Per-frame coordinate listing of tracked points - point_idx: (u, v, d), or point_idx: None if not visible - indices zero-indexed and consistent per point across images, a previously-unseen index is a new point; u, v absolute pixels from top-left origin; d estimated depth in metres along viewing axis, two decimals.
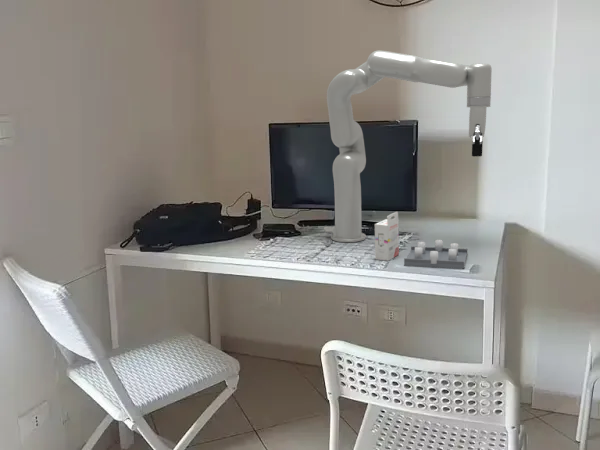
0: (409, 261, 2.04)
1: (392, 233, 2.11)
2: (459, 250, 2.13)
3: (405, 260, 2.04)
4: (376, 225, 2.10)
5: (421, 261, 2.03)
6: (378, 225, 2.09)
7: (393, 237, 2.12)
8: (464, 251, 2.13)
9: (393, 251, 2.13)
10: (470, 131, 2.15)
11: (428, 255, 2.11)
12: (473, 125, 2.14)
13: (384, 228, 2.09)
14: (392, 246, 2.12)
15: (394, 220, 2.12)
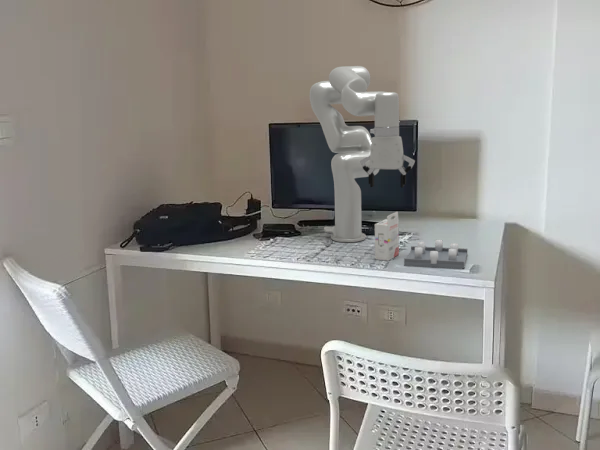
0: (409, 261, 2.04)
1: (392, 233, 2.11)
2: (459, 250, 2.13)
3: (405, 260, 2.04)
4: (376, 225, 2.10)
5: (421, 261, 2.03)
6: (378, 225, 2.10)
7: (393, 237, 2.12)
8: (464, 251, 2.13)
9: (393, 251, 2.13)
10: (401, 162, 2.05)
11: (428, 255, 2.11)
12: (402, 155, 2.05)
13: (384, 228, 2.09)
14: (392, 246, 2.12)
15: (394, 220, 2.12)
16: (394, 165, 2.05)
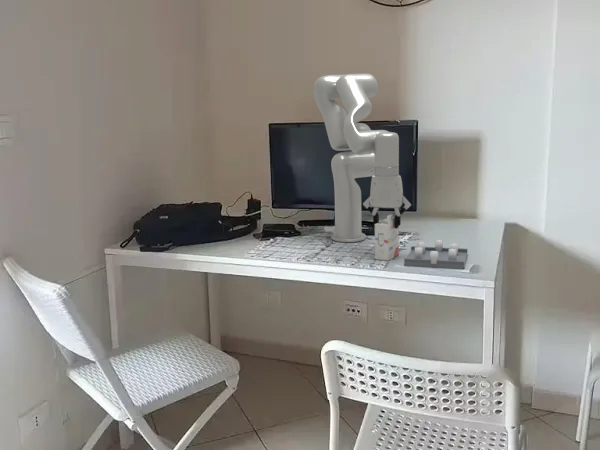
0: (409, 261, 2.04)
1: (392, 232, 2.11)
2: (459, 250, 2.13)
3: (405, 260, 2.04)
4: (376, 225, 2.10)
5: (421, 261, 2.03)
6: (378, 225, 2.09)
7: (393, 237, 2.12)
8: (464, 251, 2.13)
9: (393, 251, 2.13)
10: (400, 201, 2.07)
11: (428, 255, 2.11)
12: (401, 194, 2.08)
13: (384, 228, 2.09)
14: (392, 246, 2.12)
15: (394, 220, 2.12)
16: (394, 204, 2.08)
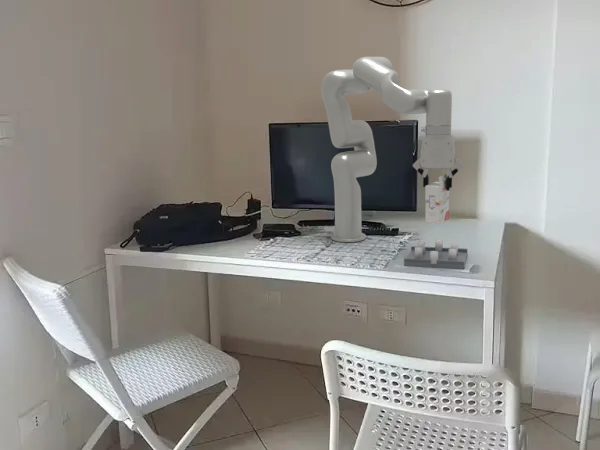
0: (409, 261, 2.04)
1: (443, 195, 2.02)
2: (459, 250, 2.13)
3: (405, 260, 2.04)
4: (427, 187, 2.01)
5: (421, 261, 2.03)
6: (429, 186, 2.01)
7: (444, 200, 2.03)
8: (464, 251, 2.13)
9: (444, 214, 2.04)
10: (453, 162, 1.99)
11: (428, 255, 2.11)
12: (454, 155, 1.99)
13: (436, 190, 2.00)
14: (443, 209, 2.03)
15: (445, 182, 2.03)
16: (446, 165, 1.99)
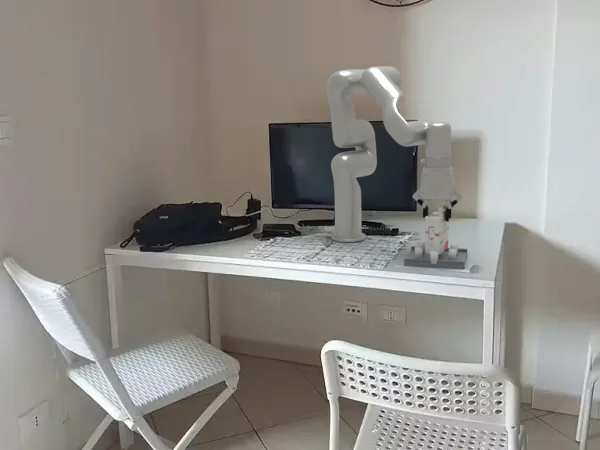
0: (409, 261, 2.04)
1: (442, 226, 2.04)
2: (459, 250, 2.13)
3: (405, 260, 2.04)
4: (426, 218, 2.04)
5: (421, 261, 2.03)
6: (429, 218, 2.03)
7: (443, 230, 2.05)
8: (464, 251, 2.13)
9: (443, 244, 2.07)
10: (452, 194, 2.01)
11: (428, 255, 2.11)
12: (453, 186, 2.01)
13: (435, 221, 2.02)
14: (442, 240, 2.05)
15: (445, 213, 2.05)
16: (445, 196, 2.01)
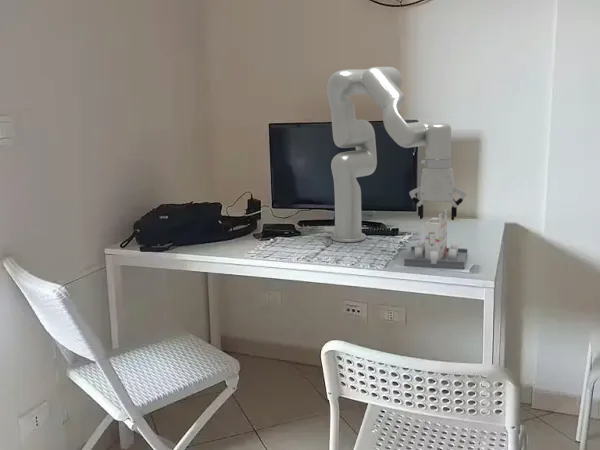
0: (409, 261, 2.04)
1: (442, 231, 2.05)
2: (459, 250, 2.13)
3: (405, 260, 2.04)
4: (427, 224, 2.04)
5: (421, 261, 2.03)
6: (429, 223, 2.04)
7: (443, 236, 2.06)
8: (464, 251, 2.13)
9: (443, 250, 2.07)
10: (452, 195, 2.01)
11: None
12: (453, 188, 2.01)
13: (436, 227, 2.03)
14: (442, 246, 2.06)
15: (444, 218, 2.06)
16: (445, 198, 2.01)
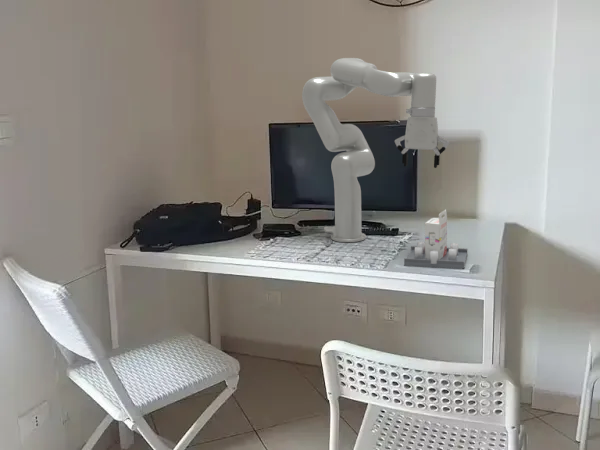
0: (409, 261, 2.04)
1: (442, 231, 2.05)
2: (459, 250, 2.13)
3: (405, 260, 2.04)
4: (427, 224, 2.04)
5: (421, 261, 2.03)
6: (429, 223, 2.04)
7: (443, 236, 2.06)
8: (464, 251, 2.13)
9: (443, 250, 2.07)
10: (435, 143, 2.08)
11: None
12: (437, 136, 2.08)
13: (436, 227, 2.03)
14: (442, 246, 2.06)
15: (444, 218, 2.06)
16: (429, 145, 2.08)
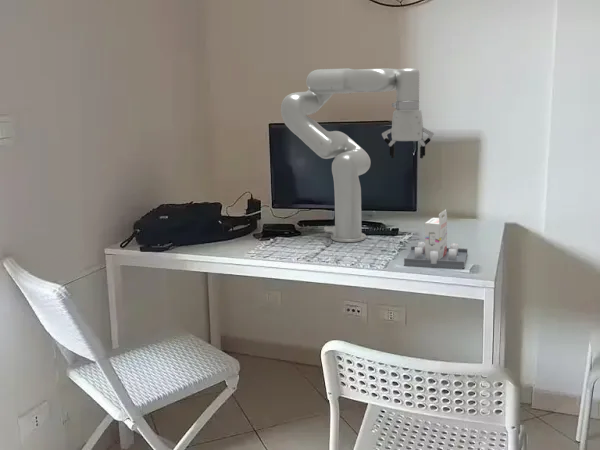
0: (409, 261, 2.04)
1: (442, 231, 2.05)
2: (459, 250, 2.13)
3: (405, 260, 2.04)
4: (427, 224, 2.04)
5: (421, 261, 2.03)
6: (429, 223, 2.04)
7: (443, 236, 2.06)
8: (464, 251, 2.13)
9: (443, 250, 2.07)
10: (421, 134, 2.18)
11: None
12: (422, 128, 2.18)
13: (436, 227, 2.03)
14: (442, 246, 2.06)
15: (444, 218, 2.06)
16: (414, 137, 2.18)
